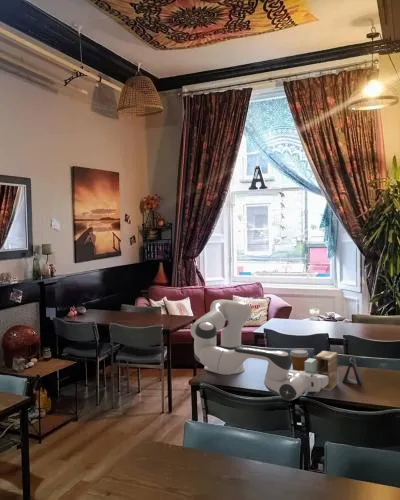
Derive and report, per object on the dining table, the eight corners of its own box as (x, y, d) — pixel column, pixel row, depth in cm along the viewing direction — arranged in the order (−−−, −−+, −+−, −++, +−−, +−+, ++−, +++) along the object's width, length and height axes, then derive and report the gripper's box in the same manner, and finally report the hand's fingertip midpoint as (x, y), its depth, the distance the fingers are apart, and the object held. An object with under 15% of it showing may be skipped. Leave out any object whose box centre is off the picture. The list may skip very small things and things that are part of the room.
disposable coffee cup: (308, 376, 239) (308, 353, 238) (290, 375, 241) (290, 353, 240) (308, 370, 248) (307, 349, 248) (290, 369, 250) (290, 348, 250)
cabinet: (300, 393, 215) (300, 359, 214) (315, 380, 232) (315, 349, 231) (323, 397, 209) (323, 363, 208) (337, 384, 226) (336, 352, 225)
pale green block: (304, 390, 214) (304, 361, 214) (309, 386, 220) (309, 357, 219) (311, 392, 212) (311, 362, 212) (316, 387, 218) (316, 359, 217)
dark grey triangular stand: (342, 382, 228) (342, 359, 228) (343, 379, 234) (343, 356, 233) (361, 385, 225) (361, 361, 224) (362, 381, 230) (362, 357, 229)
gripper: (279, 384, 211) (290, 376, 222) (322, 392, 200) (332, 383, 211) (279, 371, 211) (290, 363, 222) (322, 378, 199) (332, 369, 211)
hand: (311, 373), depth 217 cm, fingers closed on pale green block, 3 cm apart
